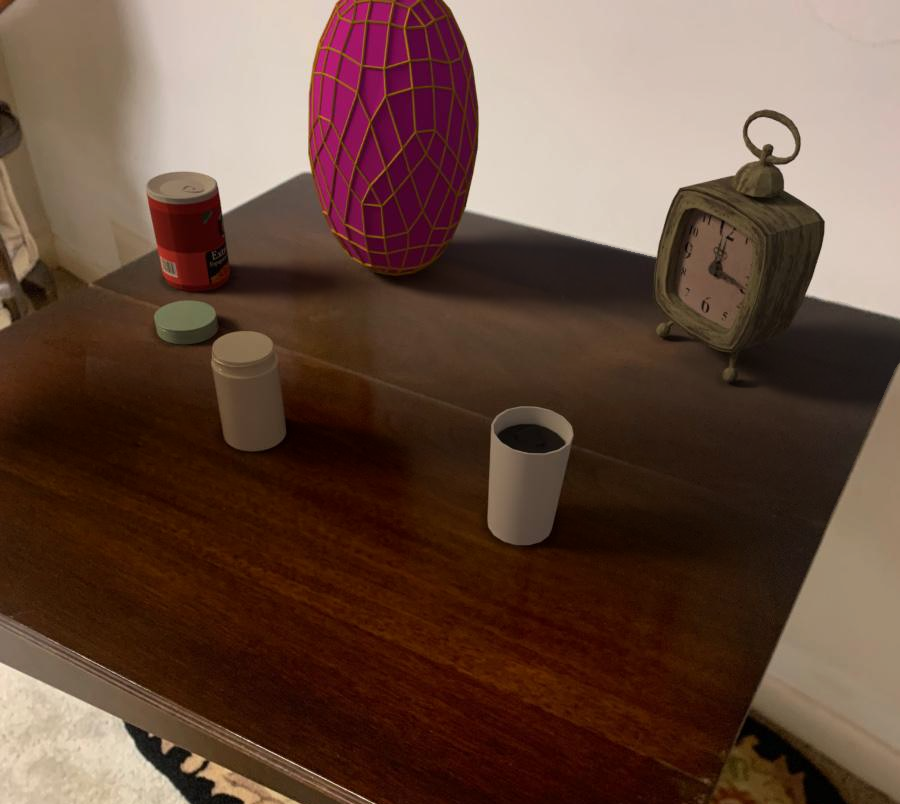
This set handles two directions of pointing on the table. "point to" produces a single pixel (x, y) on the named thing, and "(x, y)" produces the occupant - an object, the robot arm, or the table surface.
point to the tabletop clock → (737, 254)
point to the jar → (248, 390)
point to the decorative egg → (392, 130)
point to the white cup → (526, 472)
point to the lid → (186, 322)
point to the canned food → (189, 230)
